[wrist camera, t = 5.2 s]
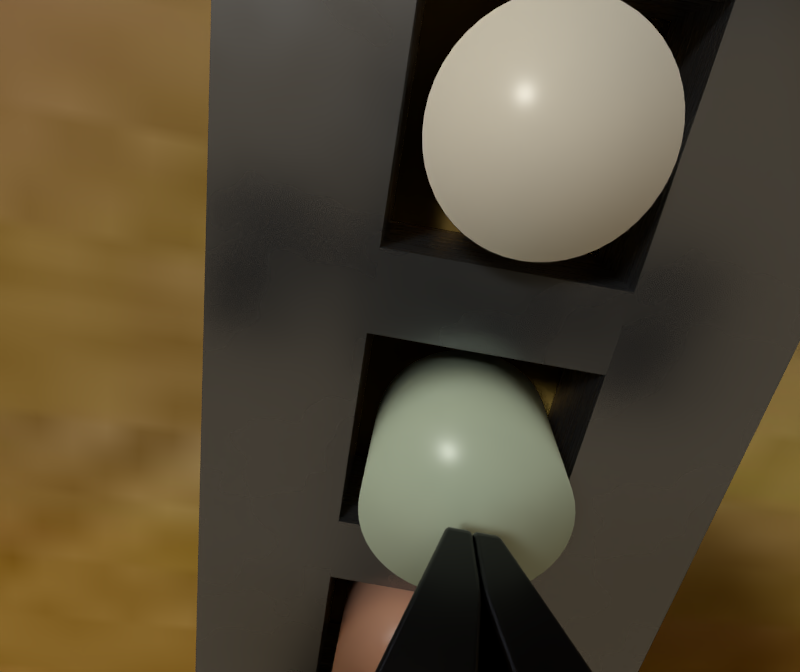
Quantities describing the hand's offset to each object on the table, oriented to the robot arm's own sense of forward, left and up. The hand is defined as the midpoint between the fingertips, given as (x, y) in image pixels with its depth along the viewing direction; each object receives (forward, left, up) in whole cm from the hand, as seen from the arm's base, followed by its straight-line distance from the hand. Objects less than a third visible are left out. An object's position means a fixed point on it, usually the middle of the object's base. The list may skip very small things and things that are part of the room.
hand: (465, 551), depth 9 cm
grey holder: (0, 0, -5) cm, 5 cm away
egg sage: (0, 0, -3) cm, 3 cm away
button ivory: (+6, 0, -4) cm, 8 cm away
